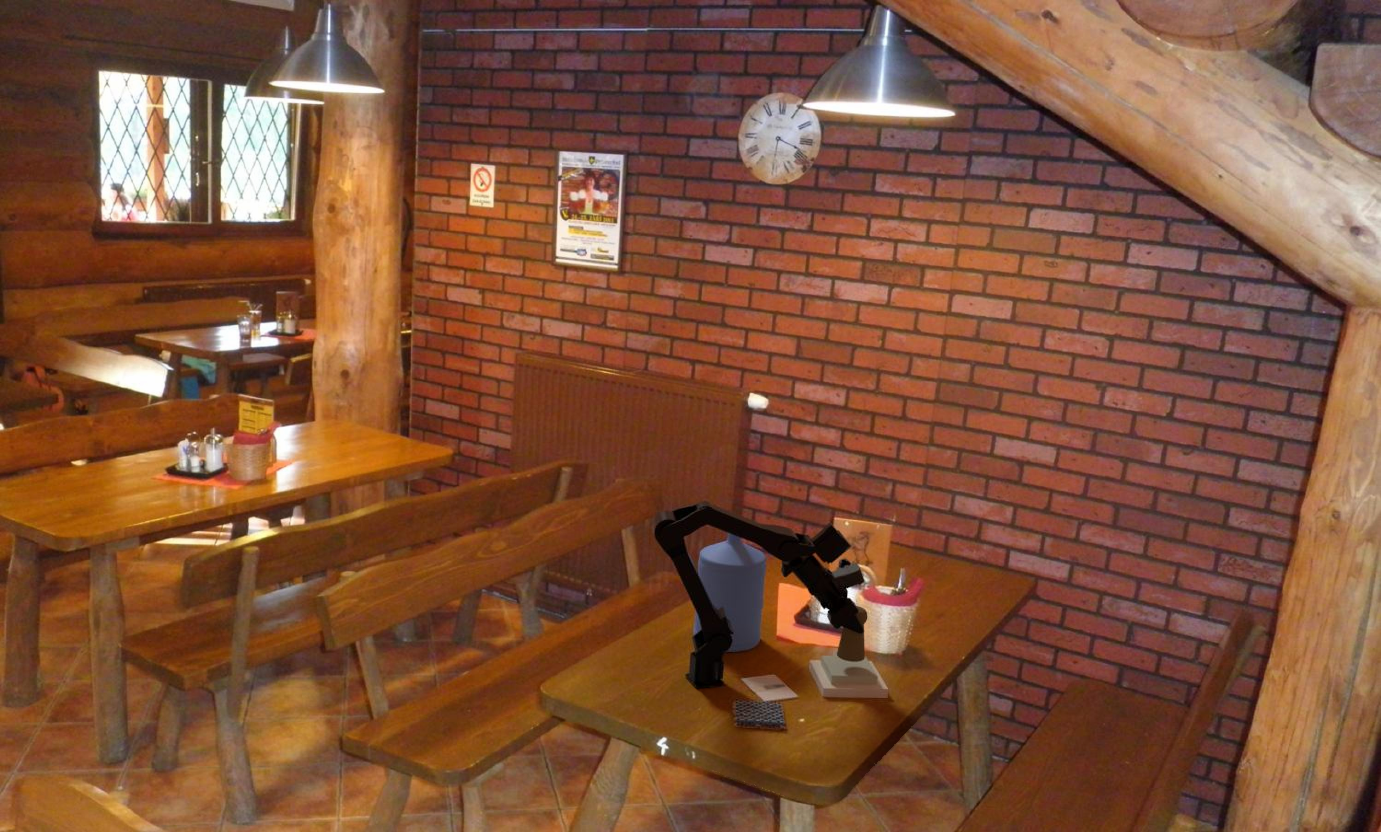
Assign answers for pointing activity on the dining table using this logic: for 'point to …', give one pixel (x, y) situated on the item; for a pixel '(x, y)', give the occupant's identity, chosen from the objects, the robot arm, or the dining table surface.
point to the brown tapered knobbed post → (853, 641)
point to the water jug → (735, 588)
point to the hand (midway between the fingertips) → (860, 627)
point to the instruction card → (769, 688)
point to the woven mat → (759, 715)
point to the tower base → (847, 688)
